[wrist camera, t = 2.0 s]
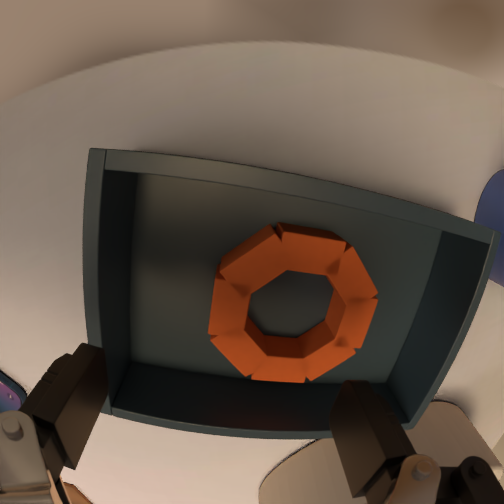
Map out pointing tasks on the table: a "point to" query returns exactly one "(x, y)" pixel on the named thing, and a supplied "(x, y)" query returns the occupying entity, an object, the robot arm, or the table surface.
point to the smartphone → (10, 395)
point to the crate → (263, 292)
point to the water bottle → (494, 220)
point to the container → (332, 474)
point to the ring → (268, 268)
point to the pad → (76, 495)
